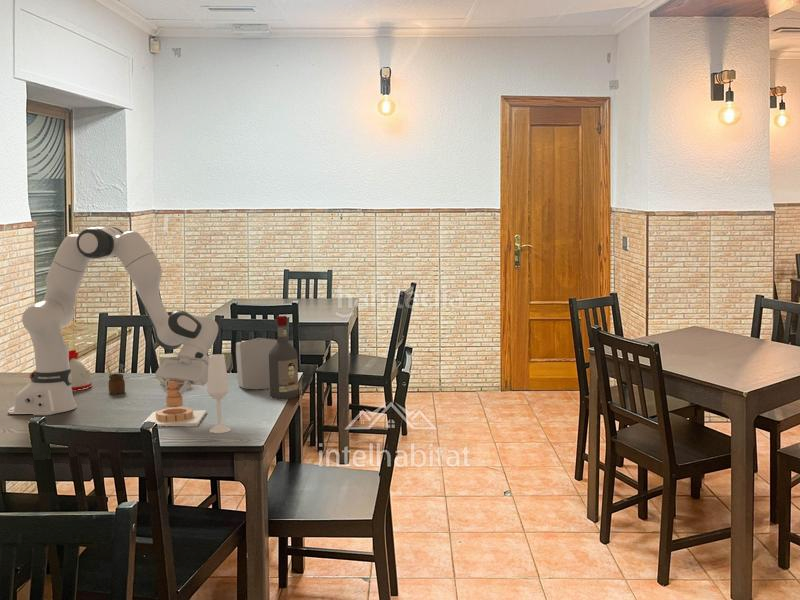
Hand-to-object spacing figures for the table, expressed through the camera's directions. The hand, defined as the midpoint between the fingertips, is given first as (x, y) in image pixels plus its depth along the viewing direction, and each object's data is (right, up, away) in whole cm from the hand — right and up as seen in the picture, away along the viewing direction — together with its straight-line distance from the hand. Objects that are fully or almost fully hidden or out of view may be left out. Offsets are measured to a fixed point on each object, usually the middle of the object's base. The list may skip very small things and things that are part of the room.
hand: (172, 392), depth 296 cm
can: (-16, -3, +61) cm, 64 cm away
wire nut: (0, -4, +1) cm, 4 cm away
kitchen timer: (-54, -4, +57) cm, 78 cm away
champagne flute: (+18, -11, -12) cm, 24 cm away
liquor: (+33, -5, +34) cm, 47 cm away
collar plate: (0, -9, +2) cm, 9 cm away
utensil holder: (-33, -5, +46) cm, 57 cm away
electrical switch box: (+19, -3, +54) cm, 58 cm away
